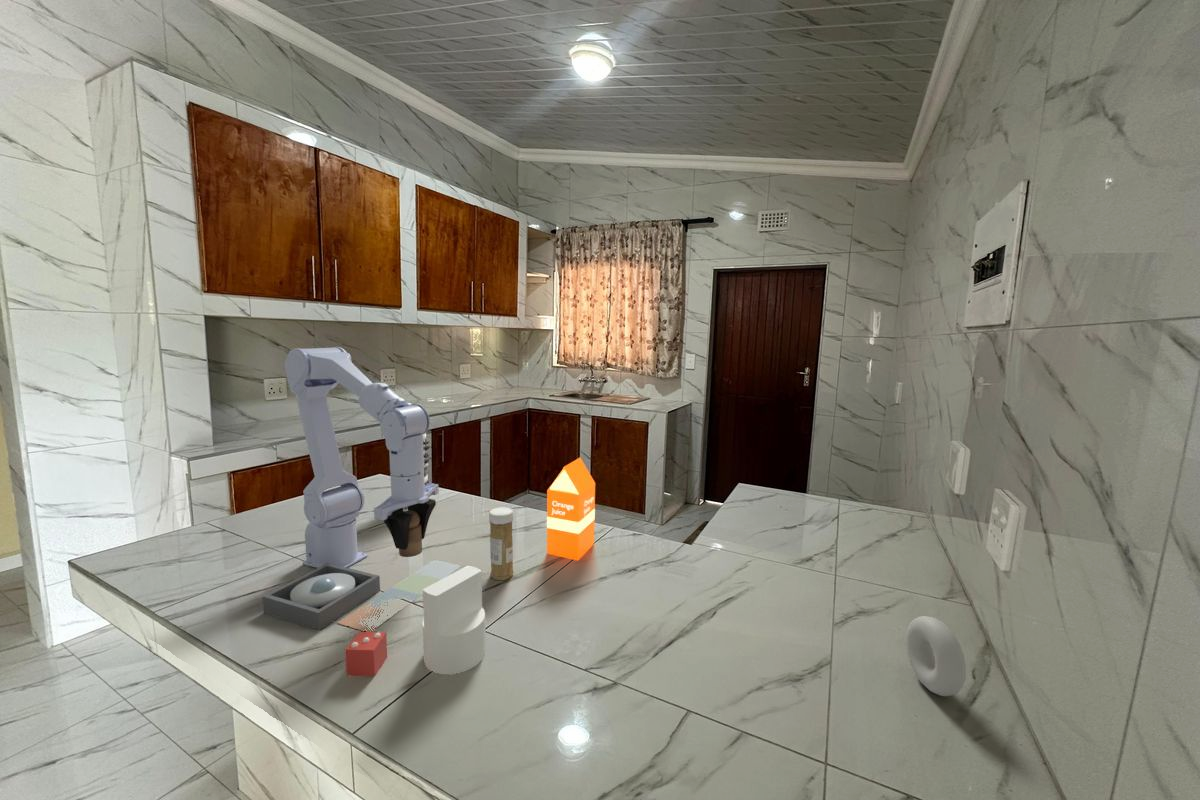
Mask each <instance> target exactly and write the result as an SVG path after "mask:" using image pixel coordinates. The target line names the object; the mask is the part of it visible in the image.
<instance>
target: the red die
mask: <svg viewBox="0 0 1200 800" xmlns="http://www.w3.org/2000/svg"><path fill="white" fill-rule="evenodd" d="M387 645H388V644H387V632H382V631H379V632H376V631H373V632H364V631H359V632H357V634H356V635H355V636H354V638H353V639H352V640H351V641H350V643H349V644H348V645H347V646H346V647H345V650H344V653H345V655H344V656H345V671H346V676H356V677H357V676H361V677H375V676H376V675H377V673H378V672H379V670H380V669H381V668H382V667H383V665H384V663H385V662H386V660H387V658H388V646H387Z"/></svg>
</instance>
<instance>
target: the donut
mask: <svg viewBox="0 0 1200 800" xmlns="http://www.w3.org/2000/svg"><path fill="white" fill-rule="evenodd" d="M905 646H906V652H907V656H908V659H909V663H910V666H911V668H912V670H913V672H914V674H915V676H916V677H917V678H918V680H919V681H920V683H921V684H922V685H923V686H924V687H925V688H926V689H928V690H929V691H930V692H931V693H934V694H936V695H937V696H941V697H951V696H956V695H957V694H958V693H960V692H961V690H962V689H963V687H964V686H965V685H964V684H965V682H966V678H967V665H966V660H965V655H964V652H963V650H962V647H961V644H960V642H959V640H958V639H957V637H956V635H955V634H954V632H953V631H952V630H951V629H950V628H949V626H948V625H946V624H945V623H944V622H942V621H941V620H940V619H938V618H935V617H934V616H933V617H932V616H927V615H921V616H917V617H916V618H914V619H912V621H911V622H910V624H908V627H907V629H906V634H905Z"/></svg>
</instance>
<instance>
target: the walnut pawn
mask: <svg viewBox="0 0 1200 800" xmlns="http://www.w3.org/2000/svg"><path fill="white" fill-rule="evenodd" d="M405 513H407V514H412V515H413V516H412V519H411V522H410V526H409V533H408V547H407V549H405V550H403V549H398V554H399V556H401V557H402V558H403V557H404V558H411V557H416V556H418V555H420V554H422V553H423V539H422V534H421V524H420V523H419V521H420V518H419V515H418V514H417V513H416V512H415V511H412V510H408V511H405Z"/></svg>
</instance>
